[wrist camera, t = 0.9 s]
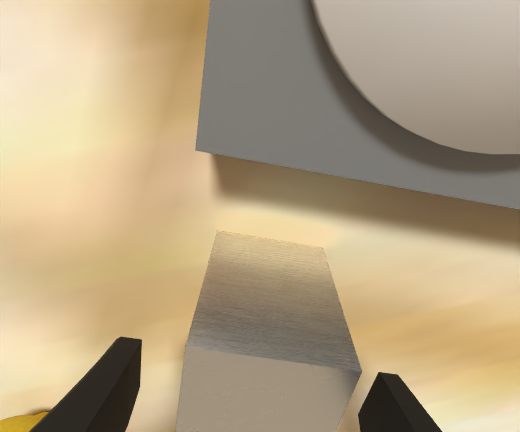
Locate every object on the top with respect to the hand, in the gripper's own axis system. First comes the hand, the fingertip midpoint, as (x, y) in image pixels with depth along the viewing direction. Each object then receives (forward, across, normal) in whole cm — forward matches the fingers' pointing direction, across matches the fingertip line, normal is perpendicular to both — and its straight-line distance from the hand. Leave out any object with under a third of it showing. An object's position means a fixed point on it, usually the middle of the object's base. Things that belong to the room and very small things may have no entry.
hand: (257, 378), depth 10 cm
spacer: (+5, 0, 0) cm, 5 cm away
